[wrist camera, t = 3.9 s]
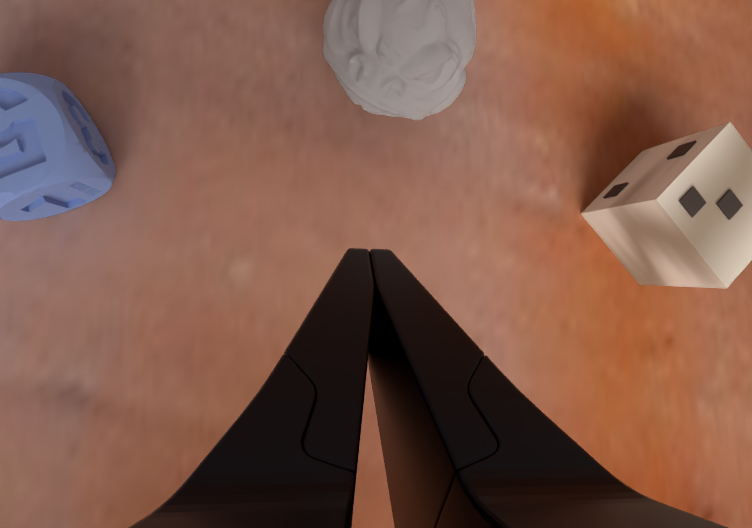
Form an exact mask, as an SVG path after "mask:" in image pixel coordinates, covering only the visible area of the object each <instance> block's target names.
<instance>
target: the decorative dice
mask: <svg viewBox="0 0 752 528" xmlns="http://www.w3.org/2000/svg"><path fill="white" fill-rule="evenodd" d="M115 176H116V169H115V165H114V162H113V159H112V156H111V154H110V152H109V149H108V147H107V145H106V143H105V141H104V139H103V137H102V136H101V134H100V132H99V130H98V128H97V127H96V125H95V123H94V122H93V120H92V119H91V117H90V116H89V114H88V113H87V111H86V110H85V108H84V107H83V105H82V104H81V103H80V101H79V100H78V99H77V97H76V96H75V95H74V94H73V93H72V92H71V90H70V89H69V88H68V87H67V86H66V85H65V84H63V83H62V82H61V81H59V80H56V79H54V78H51V77H49V76H45V75H41V74H36V73H26V72H13V73H2V74H0V219H2V220H6V221H26V220H33V219H39V218H44V217H49V216H53V215H57V214H60V213H63V212H67V211H70V210H72V209H75V208H78V207H80V206H83V205H85V204H87V203H90V202H92V201H94V200H95V199H97V198H99V197H101V196H102V195H104V194H105V193H106V192H107V191H108V190H109V189H110V188H111V186H112V183H113V181H114V178H115Z"/></svg>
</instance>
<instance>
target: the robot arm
mask: <svg viewBox="0 0 752 528" xmlns="http://www.w3.org/2000/svg"><path fill="white" fill-rule="evenodd" d="M367 363H369V370H370V376H371V383H372V389H373V395H374V401H375V407H376V414H377V420H378V426H379V432H380V439H381V445H382V451H383V457H384V463H385V470H386V476H387V482H388V488H389V495H390V501H391V507H392V513H393V519H394V526H395V528H728V527H725V526H722V525H720V524H717V523H714V522H712V521H709V520H706V519H703V518H701V517H698V516H695V515H693V514H690V513H687V512H685V511H682V510H679V509H676V508H674V507H671V506H668V505H666V504H663V503H660V502H658V501H655V500H653V499H650V498H648V497H646V496H644V495H642V494H640V493H638V492H637V491H635V490H634V489H632V488H630V487H629V486H627V485H626V484H624V483H623V482H621V481H620V480H619V479H617V478H616V477H615V476H613V475H612V474H611V473H610V472H608V471H607V470H606V469H605V468H604V467H603V466H601V465H600V464H599V463H598V462H597V461H596V460H595V459H594V458H593V457H591V456H590V455H589V454H588V453H587V452H586V451H585V450H584V449H583V448H581V447H580V446H579V445H578V444H577V443H576V442H575V441H574V440H573V439H571V438H570V437H569V436H568V435H567V434H566V433H565V432H564V431H563V430H561V429H560V428H559V427H558V426H557V425H556V424H555V423H554V422H553V421H552V420H550V419H549V418H548V417H547V416H546V415H545V414H544V413H543V412H542V411H541V410H539V409H538V408H537V407H536V406H535V405H534V404H533V403H532V402H531V401H530V400H529V399H528V398H527V397H526V396H525V395H524V394H522V393H521V392H520V391H519V390H518V389H517V388H516V387H515V386H514V384H513V383H512V382H511V381H510V380H509V379H508V378H507V377H506V376H505V375H504V374H503V373H502V372H501V371H500V370H499V369H498V368H497V367H496V366H495V364H494V363H493V362H492V361H491V360H490V359H489V358H488V357H487V356H484V353H483V351H482V350H481V349H480V348H479V347H478V346H477V345H476V344H475V343H474V342H473V340H472V339H471V338H470V337H469V336H468V335H467V334H466V333H465V332H464V330H463V329H462V328H461V327H460V326H459V325H458V324H457V323H456V322H455V321H454V319H453V318H452V317H451V316H450V315H449V314H448V313H447V312H446V311H445V310H444V308H443V307H442V306H441V305H440V304H439V303H438V302H437V301H436V300H435V299H434V297H433V296H432V295H431V294H430V293H429V292H428V291H427V290H426V289H425V288H424V286H423V285H422V284H421V283H420V282H419V281H418V280H417V279H416V278H415V276H414V275H413V274H412V273H411V272H410V271H409V270H408V269H407V268H406V267H405V265H404V264H403V263H402V262H401V261H400V260H399V259H398V258H397V257H396V256H395V254H394V253H393V252H392V251H390V250H387V249H372V250H370V252H369V251H368V250H367V249H355V248H350V249H348V250H347V251H346V253H345V254H344V256H343V258H342V259H341V261H340V263H339V264H338V266H337V267H336V269H335V271H334V272H333V274H332V276H331V277H330V279H329V281H328V282H327V284H326V285H325V287H324V289H323V290H322V292H321V294H320V295H319V297H318V298H317V300H316V302H315V303H314V305H313V307H312V308H311V310H310V311H309V313H308V315H307V316H306V318H305V320H304V321H303V323H302V324H301V326H300V328H299V329H298V331H297V333H296V334H295V336H294V337H293V339H292V341H291V342H290V344H289V346H288V347H287V349H286V350H285V352H284V355H282V357H281V358H280V360H279V361H278V363H277V365H276V366H275V368H274V370H273V371H272V373H271V374H270V376H269V377H268V379H267V380H266V382H265V383H264V385H263V386H262V387H261V389H260V390H259V392H258V393H257V395H256V396H255V397H254V398H253V400H252V401H251V402H250V404H249V405H248V406H247V407H246V409H245V410H244V411H243V413H242V414H241V415H240V416H239V418H238V419H237V420H236V421H235V422H234V424H233V425H232V426H231V427H230V428H229V430H228V431H227V432H226V433H225V434H224V436H223V437H222V438H221V439H220V440H219V442H218V443H217V444H216V445H215V447H214V448H213V449H212V450H211V451H210V453H209V454H208V455H207V456H206V457H205V459H204V460H203V461H202V462H201V463H200V465H199V466H198V467H197V468H196V469H195V471H194V472H193V473H192V474H191V476H190V477H189V478H188V479H187V480H186V481H185V482H184V484H183V485H182V486H181V487H180V488H179V489H178V490H177V491H176V492H175V493H174V494H173V495H172V496H171V497H170V498H169V499H168V500H167V501H166V502H165V503H164V504H162V505H161V506H160V507H159V508H158V509H156V510H155V511H154V512H152V513H151V514H150V515H148V516H147V517H145V518H144V519H142V520H140V521H139V522H137V523H135V524H134V525H132V526H130V527H129V528H351V527H352V515H353V504H354V493H355V483H356V473H357V463H358V453H359V443H360V433H361V423H362V413H363V403H364V393H365V383H366V373H367Z"/></svg>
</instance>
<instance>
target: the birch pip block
mask: <svg viewBox="0 0 752 528" xmlns="http://www.w3.org/2000/svg"><path fill="white" fill-rule="evenodd" d="M581 215H582V216H583V217H584V218H585V220H586V221H587V222H588V223H589V224H590V226H591V227H592V228H593V229H594V230H595V232H596V233H597V234H598V235H599V237H600V238H601V239H602V240H603V241H604V243H605V244H606V245H607V246H608V247H609V249H610V250H611V251H612V252H613V254H614V255H615V256H616V257H617V258H618V260H619V261H620V262H621V263H622V264H623V266H624V267H625V268H626V269H627V271H628V272H629V273H630V274H631V275H632V277H633V278H634V279H635V280H636V281H637V283H638V284H639V285H658V286H682V287H705V288H728V286H729V285H730V284H731V283H732V282H733V281H734V280H735V278H736V277H737V276H738V275H739V274H740V273H741V272H742V270H743V269H744V268H745V267H746V266H747V265H748V264H749V263H750V261H751V260H752V150H751V149H750V148H749V146H748V145H747V144H746V142H745V141H744V139H743V138H742V137H741V135H740V134H739V133H738V131H737V130H736V129H735V127H734V126H733V125H732V123H731V122H727V123H724V124H721V125H718V126H715V127H712V128H709V129H706V130H703V131H700V132H697V133H694V134H691V135H688V136H685V137H682V138H679V139H676V140H673V141H670V142H667V143H664V144H661V145H658V146H655V147H652V148H649V149H646V150H643V151H642V152H641V153H640V154H639V155H638V156H637V157H636V158H635V159H634V160H633V161H632V162H631V163H630V164H629V165H628V166H627V167H626V168H625V169H624V170H623V171H622V172H621V173H620V174H619V175H618V176H617V177H616V178H615V179H614V180H613V181H612V182H611V183H610V184H609V185H608V186H607V187H606V188H605V189H604V190H603V191H602V192H601V193H600V194H599V195H598V196H597V197H596V198H595V199H594V200H593V201H592V202H591V203H590V205H589V206H588V207H587V208H586V209H585V210H584V211H583V212H582V213H581Z"/></svg>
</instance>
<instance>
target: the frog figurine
mask: <svg viewBox="0 0 752 528" xmlns="http://www.w3.org/2000/svg"><path fill="white" fill-rule="evenodd" d="M323 36H324V43H323V48H324V49H323V50H322V52H323V55H324V58H325V60H326V61H327V62H328V63H329V65H330V66H331V67H332V69H333V71H334V73H335V75H336V77H337V79H338V81H339V83H340V84H341V85H342V87H343V89H344V91H345V93H346V95H347V96H348V98H349V99H350V100H351V101H352V102H353V103H354V104H356V105H361V106H362V108H363V110H365V111H367V112H368V113H371V114H375V115H386V116H392V117H405V118H409V119H412V120H417V121H421V120H422V119H423V118H426V117H428V116H429V115H434V114H437V113H439V112H441V111H443V110H444V109H446V108H447V107H449V106H450V105H451V104H452V103H453V102H454V100H455V99H456V98H457V97H458V96H459V94H460V92H461V91H462V89H463V87H464V85H465V81H466V71H465V69H464V68H465V66H466V65H467V64H468V63H469V61H470V60H471V58H472V56H473V53H474V48H475V43H476V17H475V8H474V1H473V0H332V1H331V3H330V4H329V7H328V9H327V11H326V14H325V17H324V23H323Z"/></svg>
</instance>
